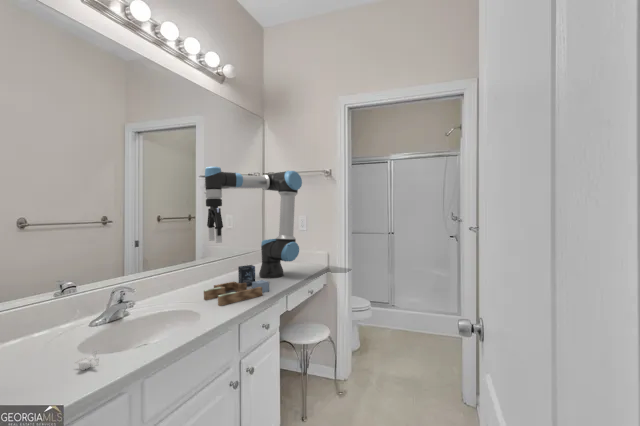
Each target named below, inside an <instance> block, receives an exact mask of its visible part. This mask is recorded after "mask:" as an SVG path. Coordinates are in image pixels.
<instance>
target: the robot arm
mask: <svg viewBox="0 0 640 426" xmlns="http://www.w3.org/2000/svg"><path fill="white" fill-rule="evenodd" d="M302 179H303V178H302V177H301V175H300V173H299V172H297V171H295V170H286V171H282V172H281V171H279V172H274V173H269V174H262V175H242V174H241V173H238V172H229V171H228V172H226V171H225V172H224V171H222V169H221V167H219V166H206V167H205V169H204V181H205V183H204V185H205V186H204V187H205V191H204V194H205V198H206V199H205V206H206V207H207V208H208V207H209V208H208V209H207V211H208V212H207V213H208V214H207V222H206V223H207V224H206V226H207V228H208V242H209V241H212V242H213V241H215V243H216V244H218V243H223V233H222V232H223V231H222V229H223V228H224V224H223V217H222V212H221V210H222V209H221V207H222V206H223V199H221V198H222V197H223V192H222V191H223V190H224V189H232V190H234V189H262V190H264V191H274V192H277V193H278V194H279V196H280V202H279V203H280V204H279V206H280V207H279V224H278V225H279V226H278V227H279V228H278V230H279V231H278V236H276V238H269V239H268V238H267V239H263V240H262V241H261V245H260V248H261V265H260V269H259V272H258V275H259V276H258V277H260V278H263V279H274V278H281V277H284V270H283V267H282V263H281V261H283V262H285V263H286V262H292V261H295V260H296V258H298V256H299V253H300V246H299V245H298V243H297V242H296V237H295V236H294V229H295V227H294V224H295V207H296V206H295V201H296V196H297V195H298V194H299V193H298V191H299V190H300V189H301V188H302V184H303V180H302Z"/></svg>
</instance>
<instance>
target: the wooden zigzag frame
mask: <svg viewBox="0 0 640 426" xmlns="http://www.w3.org/2000/svg"><path fill="white" fill-rule="evenodd" d="M262 296H263V293H262V287H257V288H252V287H251V288H249V289H248V286H247V283H239V282H237V281H229V282H225V283H220V284H215V285H213V288H208V289H204V290H203V300H204V301H208V300H212V299H213V300H214V299H216V298H217V305H218V306H219V307H221V306H227V305H229V304H233V303H238V302H242V301H246V300H249V299H254V298H258V297H262Z"/></svg>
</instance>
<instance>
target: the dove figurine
mask: <svg viewBox="0 0 640 426" xmlns="http://www.w3.org/2000/svg"><path fill="white" fill-rule="evenodd" d="M99 351H100V350H96V349H92V354H91V356H88V357H84V358H80V359H79V360H77V361H74V364H75V365H78V367H79V370H81V371H86V370H87V369H90V367H91V366H93V367H94V366H98V367H99V363H100V357H98V358H97V354H98V353H99ZM85 369H86V370H85Z"/></svg>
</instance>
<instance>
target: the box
mask: <svg viewBox="0 0 640 426" xmlns="http://www.w3.org/2000/svg"><path fill="white" fill-rule="evenodd" d="M237 267H238V273H237V274H238V283H247V287H249V286H251V287H252V282H254V281H256V266H255V265H253V264H249V265H247V264H246V265H241V266H237Z"/></svg>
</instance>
